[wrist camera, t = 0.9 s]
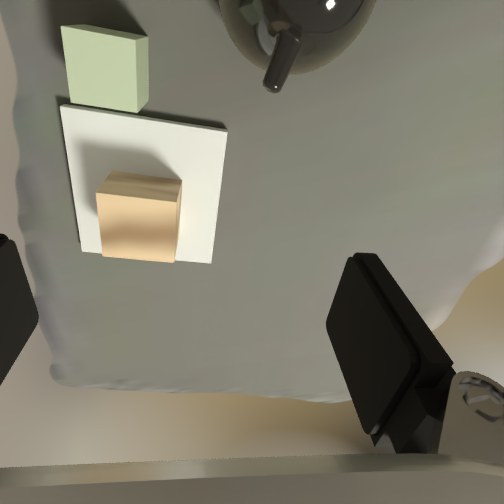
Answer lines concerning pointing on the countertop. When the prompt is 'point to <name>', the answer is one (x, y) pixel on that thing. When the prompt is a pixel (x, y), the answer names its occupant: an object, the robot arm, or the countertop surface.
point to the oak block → (139, 216)
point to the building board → (146, 169)
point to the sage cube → (106, 67)
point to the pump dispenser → (293, 33)
